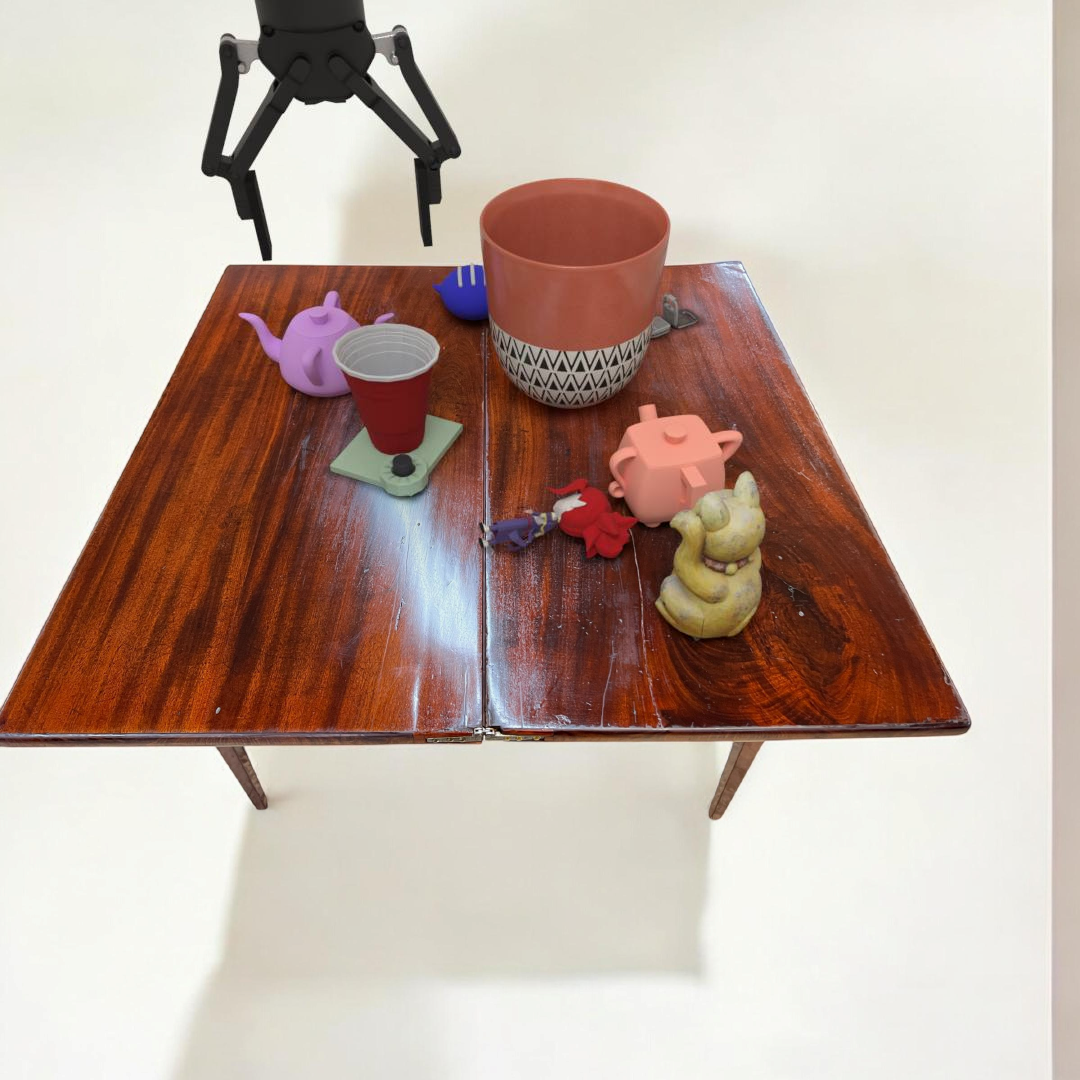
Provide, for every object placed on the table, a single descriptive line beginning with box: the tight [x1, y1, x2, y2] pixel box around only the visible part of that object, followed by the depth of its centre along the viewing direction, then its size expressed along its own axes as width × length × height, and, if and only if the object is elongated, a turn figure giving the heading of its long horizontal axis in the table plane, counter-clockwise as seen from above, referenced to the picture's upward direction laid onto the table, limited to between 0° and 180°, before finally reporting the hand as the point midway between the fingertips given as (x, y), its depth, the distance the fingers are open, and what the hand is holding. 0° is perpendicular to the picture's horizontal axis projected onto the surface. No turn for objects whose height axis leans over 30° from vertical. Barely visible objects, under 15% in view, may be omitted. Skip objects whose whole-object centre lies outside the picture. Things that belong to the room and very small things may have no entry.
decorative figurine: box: [654, 470, 766, 642], centre depth 74 cm, size 10×8×15 cm
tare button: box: [392, 454, 413, 477], centre depth 89 cm, size 2×2×2 cm
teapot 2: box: [608, 403, 744, 528], centre depth 86 cm, size 12×12×10 cm
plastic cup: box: [332, 322, 441, 455], centre depth 91 cm, size 11×11×12 cm
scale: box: [329, 413, 464, 497], centre depth 93 cm, size 13×11×2 cm
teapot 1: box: [238, 290, 395, 398], centre depth 101 cm, size 12×14×9 cm
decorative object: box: [432, 262, 489, 321], centre depth 113 cm, size 10×6×10 cm
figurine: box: [478, 477, 639, 559], centre depth 83 cm, size 6×8×15 cm
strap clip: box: [650, 293, 700, 339], centre depth 111 cm, size 8×3×4 cm, turn 121°
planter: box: [478, 177, 672, 410], centre depth 95 cm, size 20×20×21 cm
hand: (348, 246), depth 74 cm, fingers open, 13 cm apart
